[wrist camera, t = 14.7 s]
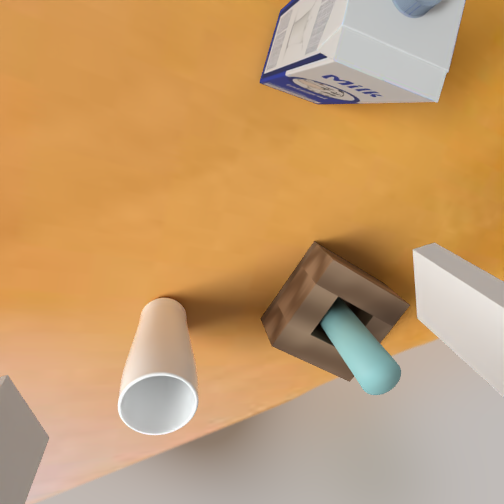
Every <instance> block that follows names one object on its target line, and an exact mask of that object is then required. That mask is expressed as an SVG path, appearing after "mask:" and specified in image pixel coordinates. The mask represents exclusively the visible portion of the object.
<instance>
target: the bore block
mask: <svg viewBox="0 0 504 504" xmlns="http://www.w3.org/2000/svg"><path fill="white" fill-rule="evenodd" d="M338 297H340V298H341V299H342V300H343V301H344V303H345V304H346V305H347V306H348V307H349V308H350V309H351V311H352V312H353V313H354V314H355V315H356V316H357V318H358V319H359V320H360V321H361V322H362V323H363V324H364V326H365V327H366V328H367V329H368V330H369V331H370V333H371V334H372V335H373V336H374V337H375V338H376V340H377V341H378V342H379V343H381V341H382V340H383V339H384V338H385V336H386V335H387V334H388V332H389V331H390V330H391V329H392V327H393V326H394V325H395V324H396V322H397V321H398V320H399V319H400V317H401V316H402V315H403V313H404V312H405V311H406V310H407V308H408V307H409V306H410V305H409V304H408V303H407V302H406V301H404V300H403V299H402V298H401V297H400V296H398V295H397V294H396V293H395V292H394V291H392V290H391V289H390V288H389V287H388V286H387V285H385V284H384V283H383V282H381V281H379V280H378V279H376V278H374V277H373V276H371V275H369V274H368V273H366V272H364V271H363V270H361V269H359V268H358V267H356V266H354V265H353V264H351V263H349V262H348V261H346V260H345V259H343V258H341V257H340V256H338V255H336V254H335V253H333V252H331V251H330V250H328V249H326V248H325V247H323V246H321V245H320V244H318V243H316V242H315V241H314V243H313V244H312V245H311V247H310V248H309V250H308V251H307V253H306V254H305V256H304V257H303V258H302V260H301V261H300V263H299V264H298V266H297V267H296V269H295V270H294V271H293V273H292V274H291V276H290V277H289V279H288V280H287V282H286V283H285V284H284V286H283V287H282V289H281V290H280V292H279V293H278V295H277V296H276V297H275V299H274V300H273V302H272V303H271V305H270V306H269V308H268V309H267V310H266V312H265V313H264V315H263V316H262V318H261V321H262V323H263V326H264V328H265V330H266V333H267V335H268V338H269V340H270V343H271V345H272V346H273V347H275V348H277V349H279V350H282V351H284V352H286V353H288V354H290V355H292V356H295V357H297V358H299V359H301V360H303V361H306V362H308V363H310V364H312V365H314V366H317V367H319V368H321V369H323V370H325V371H327V372H330V373H332V374H334V375H336V376H338V377H341V378H343V379H345V380H347V381H351V379H352V378H353V377H354V375H353V373H352V372H351V370H350V369H349V367H348V366H347V364H346V363H345V361H344V360H343V358H342V357H341V355H340V354H339V352H338V351H337V349H336V348H335V346H334V345H333V343H332V342H331V340H330V339H329V337H328V336H327V334H326V333H325V331H324V330H323V328H322V327H321V325H320V324H319V322H320V321H321V319H322V318H323V317H324V315H325V314H326V313H327V311H328V310H329V308H330V307H331V306H332V304H333V303H334V302H335V300H336V299H337V298H338Z"/></svg>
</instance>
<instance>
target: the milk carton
mask: <svg viewBox="0 0 504 504" xmlns="http://www.w3.org/2000/svg"><path fill="white" fill-rule="evenodd" d="M465 1H466V0H291V1H290V2H289V3H288V4H287V5H286V6H285V7H284V8H283V9H282V10H281V11H280V14H279V17H278V21H277V24H276V28H275V31H274V34H273V38H272V41H271V45H270V48H269V52H268V55H267V59H266V62H265V65H264V69H263V72H262V76H261V79H260V83H261V84H264V85H267V86H269V87H272V88H275V89H278V90H280V91H283V92H286V93H289V94H291V95H294V96H297V97H300V98H302V99H305V100H308V101H310V102H313V103H316V104H355V103H404V102H438V100H439V97H440V93H441V90H442V87H443V83H444V80H445V76H446V73H448V72H449V68H450V64H451V60H452V55H453V51H454V47H455V43H456V39H457V34H458V30H459V26H460V22H461V18H462V14H463V9H464V5H465Z"/></svg>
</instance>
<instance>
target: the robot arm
mask: <svg viewBox="0 0 504 504" xmlns="http://www.w3.org/2000/svg"><path fill="white" fill-rule="evenodd" d="M413 261H414V276H415V291H416V305H417V318H418V319H419V320H420V321H421V322H422V323H423V324H424V325H425V326H426V327H427V328H429V329H430V330H431V331H432V332H433V333H434V334H435V335H436V336H437V337H438V338H439V339H441V340H442V341H443V342H444V343H445V344H446V345H447V346H448V347H449V348H450V349H451V350H453V351H454V352H455V353H456V354H457V355H458V356H459V357H460V358H461V359H462V360H464V361H465V362H466V363H467V364H468V365H469V366H470V367H471V368H472V369H473V370H474V371H476V373H478V374H479V375H480V376H481V377H482V378H483V379H484V380H485V381H486V382H487V383H488V384H490V385H491V386H492V387H493V388H494V389H495V390H496V391H497V392H498V393H499V394H501V395H502V396H503V397H504V282H503V281H501V280H500V279H498V278H496V277H494V276H493V275H491V274H489V273H487V272H486V271H484V270H482V269H480V268H478V267H477V266H475V265H473V264H471V263H470V262H468V261H466V260H464V259H462V258H461V257H459V256H457V255H455V254H454V253H452V252H450V251H448V250H447V249H445V248H443V247H441V246H439V245H438V244H436V243H432V244H428V245H425V246H422V247H419V248H416V249H413ZM48 440H49V436H48V435H47V433H46V432H45V430H44V429H43V427H42V426H41V424H40V423H39V421H38V420H37V418H36V417H35V415H34V414H33V412H32V411H31V409H30V408H29V406H28V405H27V403H26V402H25V400H24V399H23V397H22V396H21V394H20V393H19V391H18V390H17V388H16V387H15V385H14V384H13V382H12V381H11V379H10V378H9V376H8V375H6V376H2V377H0V504H25V501H26V499H27V496H28V493H29V491H30V488H31V485H32V483H33V480H34V477H35V475H36V472H37V469H38V467H39V464H40V461H41V459H42V456H43V453H44V451H45V448H46V445H47V443H48Z"/></svg>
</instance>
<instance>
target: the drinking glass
mask: <svg viewBox="0 0 504 504" xmlns="http://www.w3.org/2000/svg"><path fill="white" fill-rule="evenodd" d="M197 407H198V376H197V368H196V362H195V358H194V353H193V349H192V344H191V340H190V335H189V330H188V325H187V317H186V312H185V309H184V308H183V306H182V305H181V304H180V303H179V302H177V301H176V300H174V299H171V298H158V299H154V300H152V301H151V302H149V303H148V304H147V305H146V306H145V307H144V309H143V310H142V313H141V316H140V322H139V325H138V328H137V331H136V334H135V337H134V340H133V343H132V346H131V349H130V352H129V355H128V358H127V361H126V364H125V367H124V371H123V375H122V380H121V385H120V392H119V400H118V411H119V414H120V417H121V419H122V420H123V422H124V423H125V424H126V425H127V426H128V427H130V428H131V429H133V430H135V431H137V432H139V433H143V434H148V435H162V434H167V433H171V432H173V431H176V430H178V429H180V428H181V427H183V426H184V425H186V424H187V423H188V422H189V421H190V420H191V419H192V417H193V416H194V414H195V412H196V410H197Z"/></svg>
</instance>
